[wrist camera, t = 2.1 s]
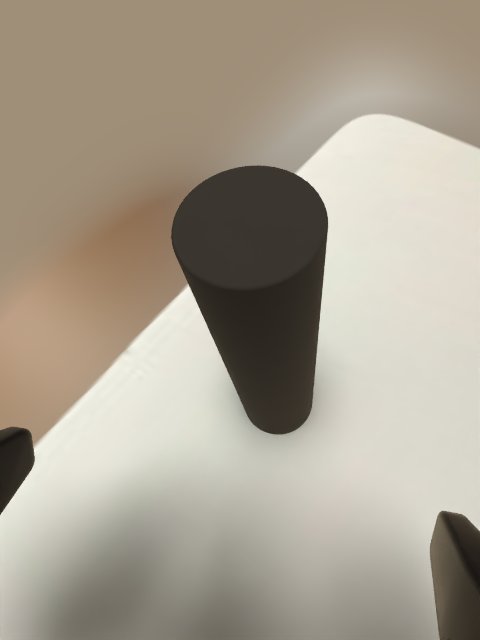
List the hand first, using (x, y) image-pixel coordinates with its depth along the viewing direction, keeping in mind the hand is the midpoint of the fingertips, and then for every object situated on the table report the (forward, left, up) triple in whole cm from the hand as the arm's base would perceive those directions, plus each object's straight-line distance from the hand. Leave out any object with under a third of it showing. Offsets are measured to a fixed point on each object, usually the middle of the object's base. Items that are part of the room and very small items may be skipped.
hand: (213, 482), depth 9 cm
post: (+5, +2, -12) cm, 13 cm away
